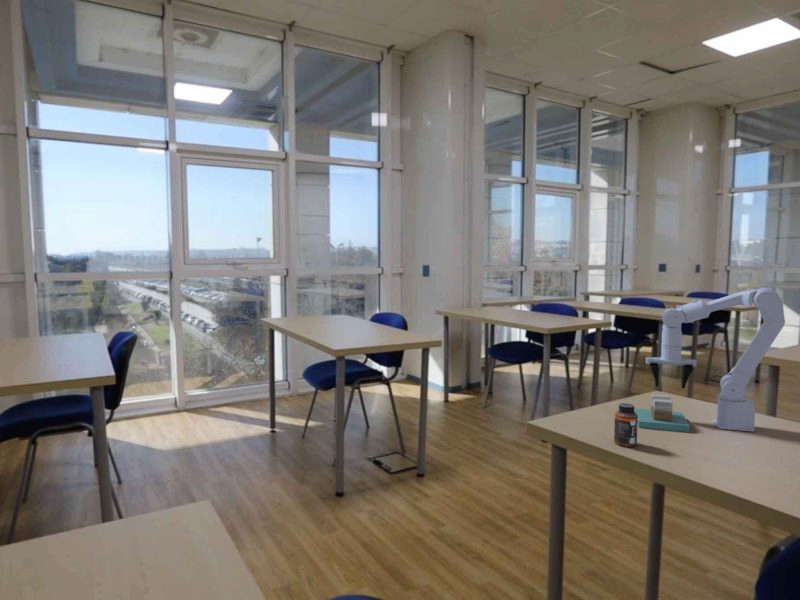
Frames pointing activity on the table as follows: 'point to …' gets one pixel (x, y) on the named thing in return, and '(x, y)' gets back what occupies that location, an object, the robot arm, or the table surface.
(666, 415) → the block
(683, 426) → the teal stand
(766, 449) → the table surface
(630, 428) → the supplement bottle
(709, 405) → the table surface
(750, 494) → the table surface
